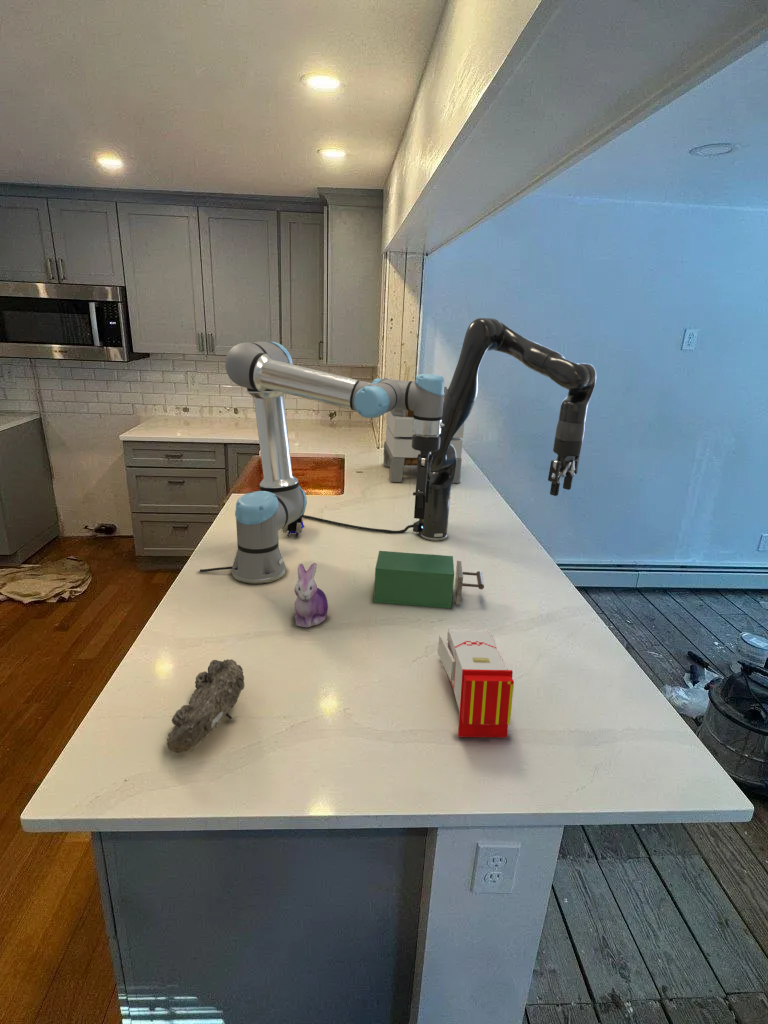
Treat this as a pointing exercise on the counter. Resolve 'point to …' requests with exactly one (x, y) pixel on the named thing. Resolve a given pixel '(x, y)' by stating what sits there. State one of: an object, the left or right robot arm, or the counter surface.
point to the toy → (478, 682)
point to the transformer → (410, 443)
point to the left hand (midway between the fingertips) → (421, 510)
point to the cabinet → (414, 579)
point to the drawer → (460, 583)
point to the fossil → (206, 705)
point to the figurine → (309, 599)
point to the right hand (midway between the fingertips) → (560, 492)
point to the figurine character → (294, 526)
